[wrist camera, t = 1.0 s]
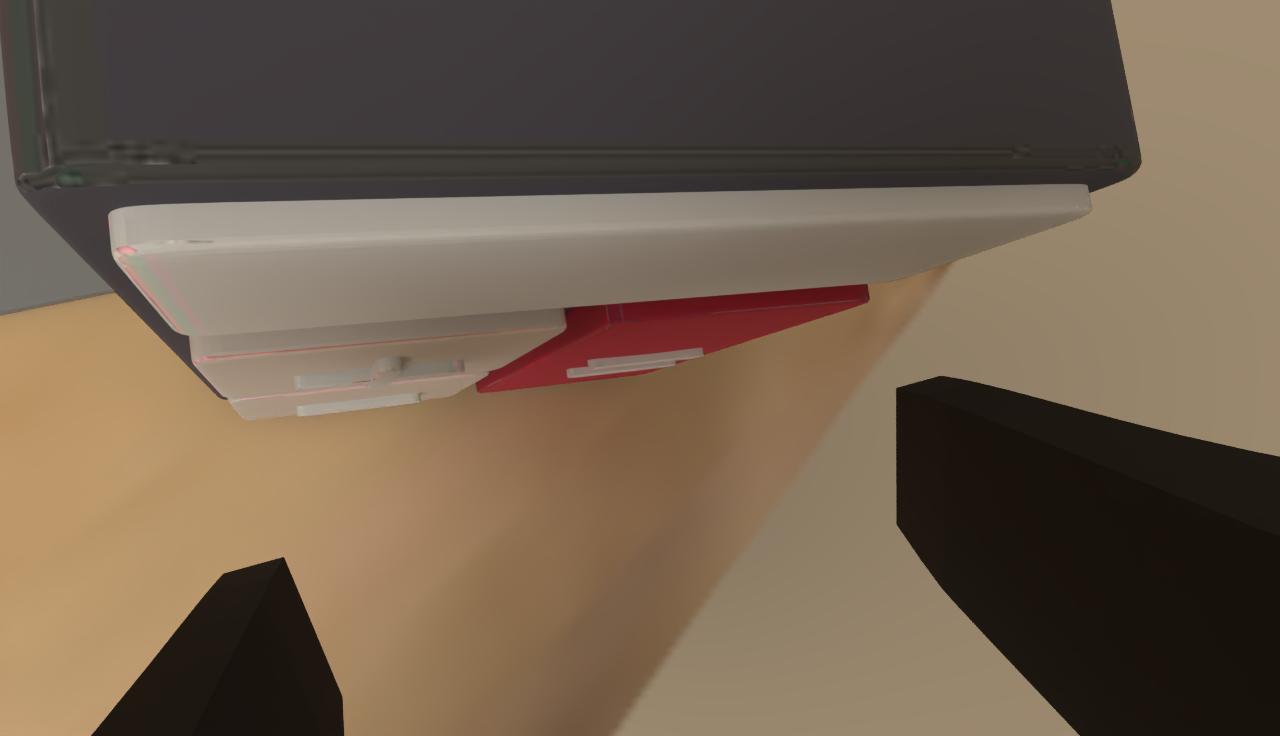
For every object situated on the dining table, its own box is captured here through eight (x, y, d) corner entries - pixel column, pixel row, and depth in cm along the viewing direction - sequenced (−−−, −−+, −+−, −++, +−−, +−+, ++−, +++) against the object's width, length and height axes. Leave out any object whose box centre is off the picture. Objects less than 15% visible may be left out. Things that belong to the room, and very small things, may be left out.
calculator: (222, 435, 19) (0, 304, 5) (202, 252, 19) (-56, -344, 5) (655, 382, 23) (1179, 232, 9) (633, 233, 23) (1106, -121, 10)
